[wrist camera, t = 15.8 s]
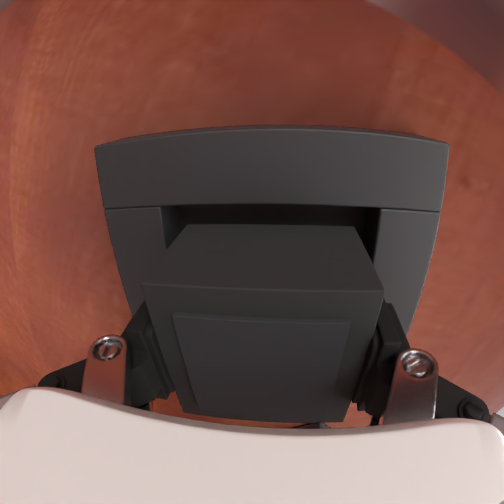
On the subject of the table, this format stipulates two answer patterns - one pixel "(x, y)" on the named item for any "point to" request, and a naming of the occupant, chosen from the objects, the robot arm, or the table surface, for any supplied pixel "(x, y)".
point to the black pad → (265, 319)
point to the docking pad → (278, 193)
